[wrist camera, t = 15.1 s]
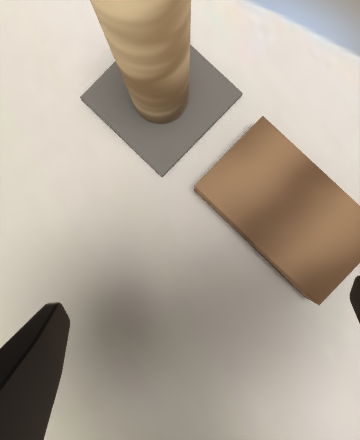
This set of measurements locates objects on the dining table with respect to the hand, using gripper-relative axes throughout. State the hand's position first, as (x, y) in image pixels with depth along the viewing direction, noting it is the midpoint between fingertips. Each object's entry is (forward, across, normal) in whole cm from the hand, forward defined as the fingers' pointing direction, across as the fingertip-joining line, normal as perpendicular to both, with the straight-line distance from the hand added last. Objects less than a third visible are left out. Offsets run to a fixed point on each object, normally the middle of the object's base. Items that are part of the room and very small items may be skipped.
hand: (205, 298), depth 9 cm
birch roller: (+18, +2, -3) cm, 18 cm away
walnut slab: (+12, -7, +6) cm, 15 cm away
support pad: (+18, +2, -2) cm, 18 cm away
